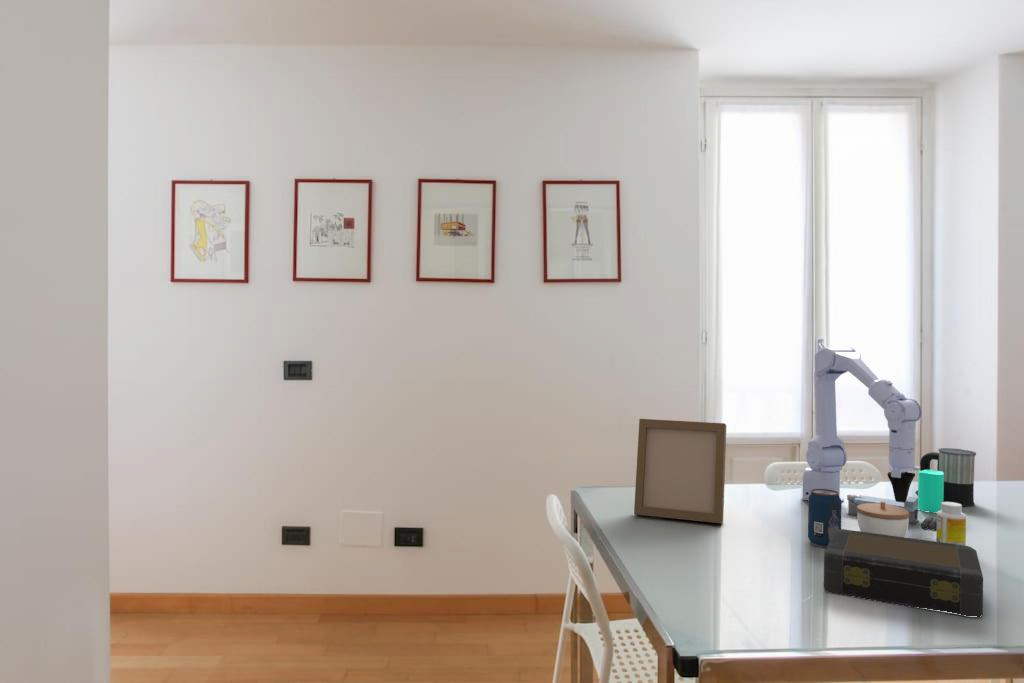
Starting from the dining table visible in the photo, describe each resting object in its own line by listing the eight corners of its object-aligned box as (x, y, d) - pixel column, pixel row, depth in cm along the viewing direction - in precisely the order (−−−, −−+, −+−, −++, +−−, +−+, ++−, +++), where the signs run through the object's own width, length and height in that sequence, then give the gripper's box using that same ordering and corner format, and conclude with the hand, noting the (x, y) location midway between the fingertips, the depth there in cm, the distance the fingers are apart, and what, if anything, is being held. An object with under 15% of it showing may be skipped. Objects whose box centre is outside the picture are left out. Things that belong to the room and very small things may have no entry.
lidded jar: (906, 539, 166) (907, 499, 165) (910, 552, 156) (911, 509, 156) (856, 533, 170) (856, 494, 170) (856, 545, 160) (857, 504, 160)
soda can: (815, 537, 166) (815, 486, 166) (845, 544, 161) (846, 491, 161) (802, 543, 162) (803, 491, 161) (833, 550, 157) (834, 496, 156)
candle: (936, 507, 195) (937, 464, 195) (947, 513, 189) (948, 468, 189) (913, 507, 195) (914, 463, 195) (924, 512, 190) (925, 468, 189)
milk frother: (975, 501, 202) (976, 449, 202) (975, 513, 189) (976, 458, 189) (918, 495, 210) (918, 445, 210) (914, 506, 197) (915, 452, 197)
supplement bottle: (971, 551, 157) (972, 505, 157) (955, 554, 154) (956, 508, 154) (946, 544, 162) (947, 499, 162) (930, 547, 159) (931, 502, 159)
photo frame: (721, 527, 175) (722, 426, 174) (633, 517, 183) (634, 421, 182) (727, 512, 188) (728, 419, 188) (645, 504, 196) (646, 414, 196)
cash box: (975, 584, 137) (975, 545, 137) (983, 622, 120) (984, 576, 119) (834, 562, 150) (834, 526, 149) (822, 593, 132) (823, 552, 132)
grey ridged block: (943, 525, 172) (942, 532, 172) (948, 518, 179) (948, 524, 179) (920, 522, 175) (920, 528, 175) (926, 514, 182) (926, 521, 182)
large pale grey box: (845, 514, 188) (845, 502, 187) (851, 509, 192) (851, 498, 192) (913, 524, 178) (913, 513, 178) (917, 519, 182) (918, 508, 182)
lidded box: (844, 501, 188) (844, 492, 188) (850, 497, 192) (850, 488, 192) (913, 512, 177) (913, 502, 177) (918, 507, 182) (918, 497, 182)
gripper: (914, 453, 169) (913, 510, 170) (925, 445, 181) (923, 498, 181) (882, 450, 174) (881, 505, 174) (894, 442, 185) (893, 494, 185)
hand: (900, 501), depth 178 cm, fingers closed
